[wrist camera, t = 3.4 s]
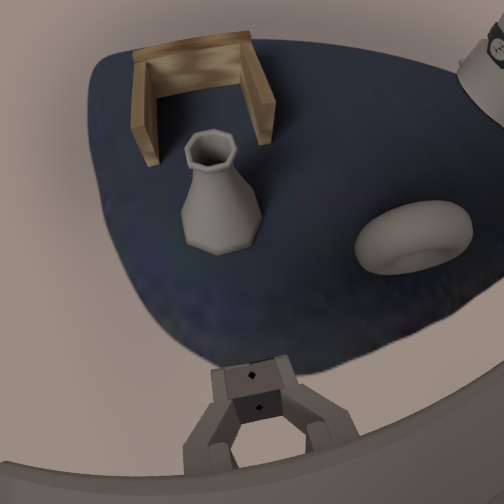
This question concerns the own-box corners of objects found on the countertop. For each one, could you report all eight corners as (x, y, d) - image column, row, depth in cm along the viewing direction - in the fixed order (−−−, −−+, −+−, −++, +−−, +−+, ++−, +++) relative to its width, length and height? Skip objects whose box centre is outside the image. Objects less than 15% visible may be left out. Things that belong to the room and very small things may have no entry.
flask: (186, 180, 28) (164, 107, 18) (263, 183, 28) (272, 108, 18) (175, 254, 26) (140, 200, 16) (260, 258, 26) (271, 204, 16)
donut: (427, 239, 27) (488, 194, 17) (434, 273, 26) (502, 237, 16) (335, 245, 26) (380, 189, 17) (341, 283, 25) (394, 244, 16)
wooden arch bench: (247, 76, 33) (248, 30, 26) (270, 143, 29) (276, 94, 23) (146, 94, 32) (133, 51, 25) (148, 166, 28) (127, 121, 22)
